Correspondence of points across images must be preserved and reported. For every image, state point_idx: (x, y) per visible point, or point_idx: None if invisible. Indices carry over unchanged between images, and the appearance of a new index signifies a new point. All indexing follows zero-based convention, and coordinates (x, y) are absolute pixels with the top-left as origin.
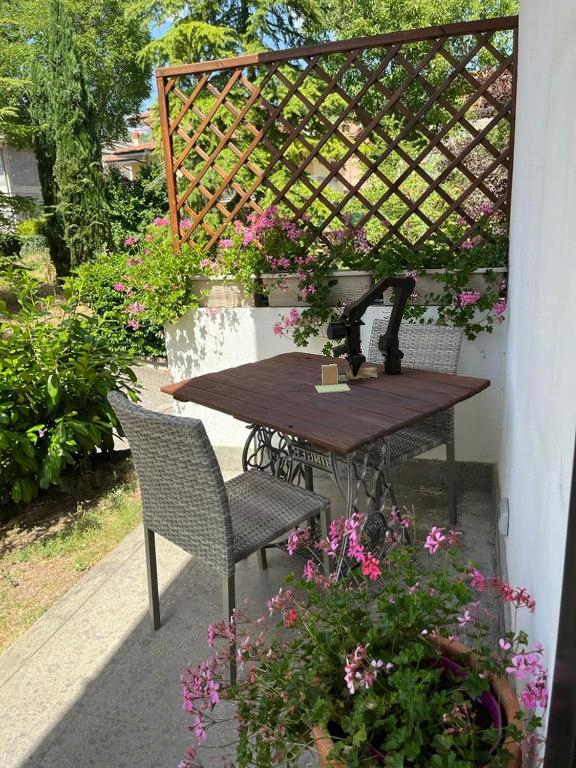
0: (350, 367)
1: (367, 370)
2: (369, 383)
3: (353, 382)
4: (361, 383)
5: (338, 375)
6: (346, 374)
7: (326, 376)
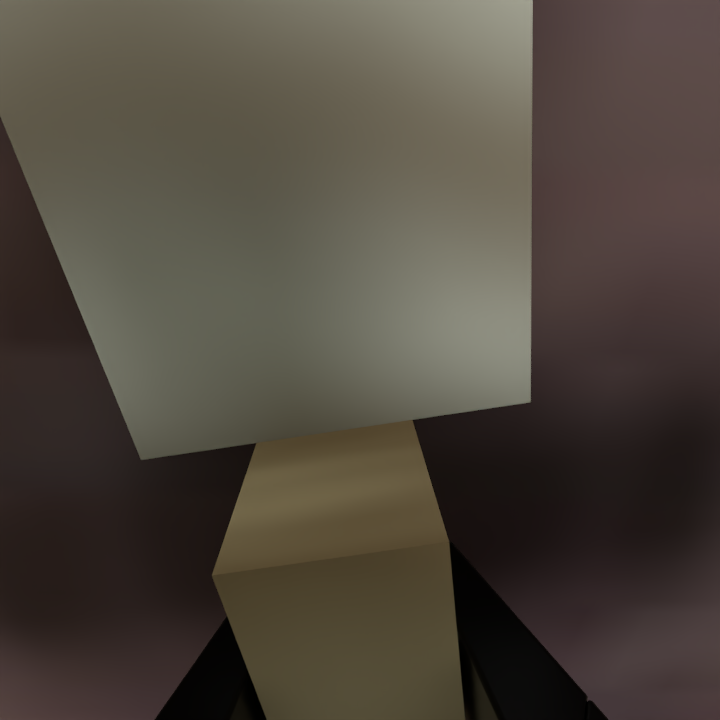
0: (487, 698)
1: None
2: (24, 700)
3: (50, 514)
4: (3, 617)
5: (519, 243)
6: (366, 457)
7: None
